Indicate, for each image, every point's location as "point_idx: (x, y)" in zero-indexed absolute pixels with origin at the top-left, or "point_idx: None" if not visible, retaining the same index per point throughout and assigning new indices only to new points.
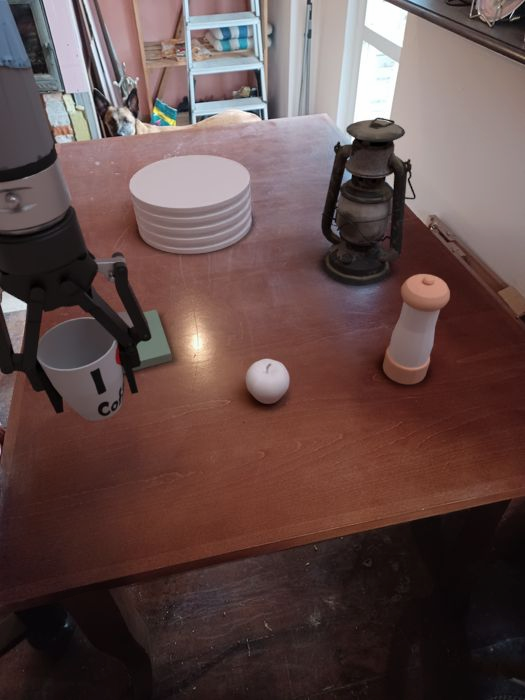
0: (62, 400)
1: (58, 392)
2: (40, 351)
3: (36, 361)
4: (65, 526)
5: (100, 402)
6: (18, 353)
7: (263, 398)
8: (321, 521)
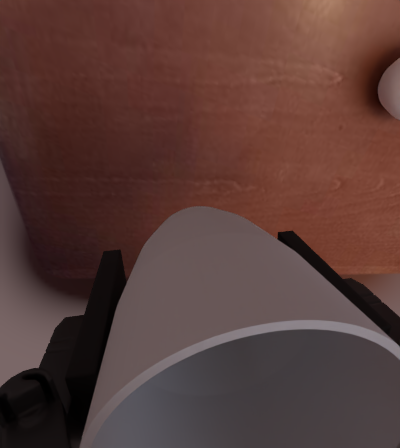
0: (123, 269)
1: (120, 291)
2: (94, 443)
3: (73, 410)
4: (96, 219)
5: (225, 349)
6: None
7: (395, 117)
8: (348, 269)
